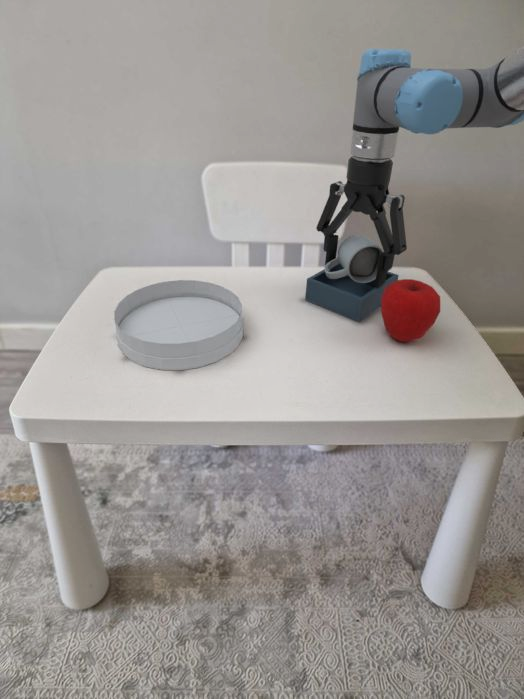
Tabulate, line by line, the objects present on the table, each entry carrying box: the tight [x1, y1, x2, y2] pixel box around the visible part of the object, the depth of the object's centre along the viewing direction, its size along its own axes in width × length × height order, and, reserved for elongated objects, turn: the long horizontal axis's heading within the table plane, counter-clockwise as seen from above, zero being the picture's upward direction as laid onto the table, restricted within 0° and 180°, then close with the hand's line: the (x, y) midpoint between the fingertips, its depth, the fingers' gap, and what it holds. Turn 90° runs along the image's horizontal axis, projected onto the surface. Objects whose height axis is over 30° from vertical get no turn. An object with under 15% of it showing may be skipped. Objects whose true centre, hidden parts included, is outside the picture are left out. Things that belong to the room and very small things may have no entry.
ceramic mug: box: [323, 234, 384, 283], centre depth 88 cm, size 11×8×8 cm
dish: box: [113, 279, 244, 371], centre depth 80 cm, size 22×22×5 cm
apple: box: [380, 278, 441, 343], centre depth 78 cm, size 10×10×11 cm
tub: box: [304, 264, 400, 323], centre depth 91 cm, size 13×14×5 cm
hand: (353, 275), depth 90 cm, fingers closed on ceramic mug, 11 cm apart
